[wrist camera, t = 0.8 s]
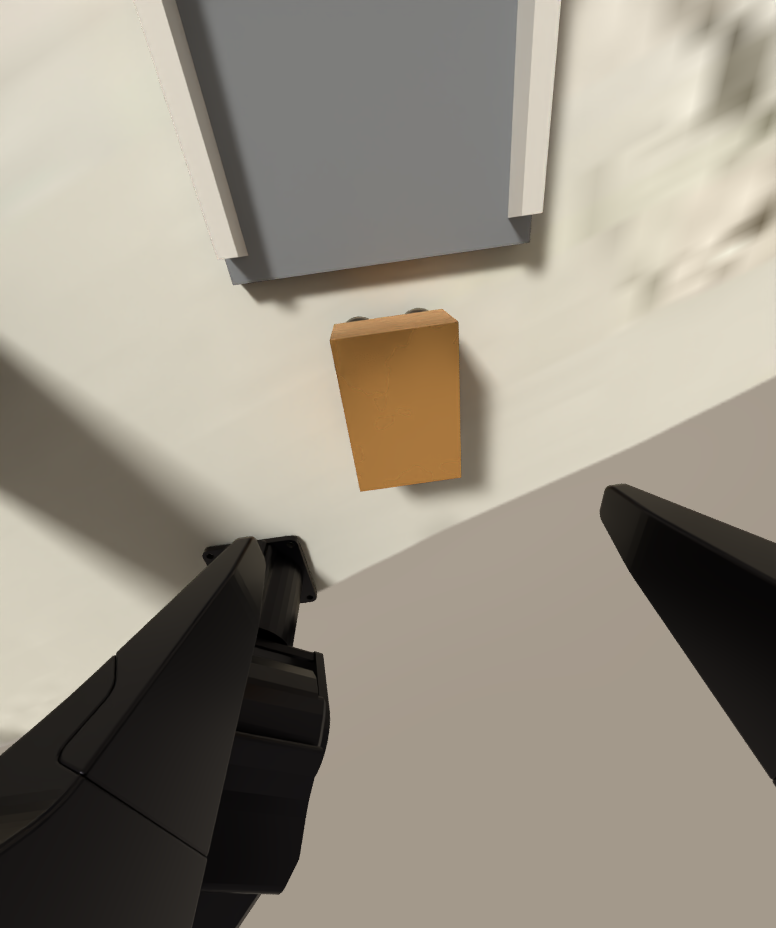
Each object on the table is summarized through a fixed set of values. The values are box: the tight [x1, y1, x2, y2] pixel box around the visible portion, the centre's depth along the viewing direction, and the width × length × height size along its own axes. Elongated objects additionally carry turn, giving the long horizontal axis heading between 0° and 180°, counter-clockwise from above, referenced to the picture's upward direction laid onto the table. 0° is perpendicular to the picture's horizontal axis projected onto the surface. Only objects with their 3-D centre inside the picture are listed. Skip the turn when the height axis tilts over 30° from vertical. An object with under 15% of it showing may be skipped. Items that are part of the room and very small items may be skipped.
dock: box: [133, 0, 561, 285], centre depth 12 cm, size 11×13×3 cm
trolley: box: [330, 308, 461, 492], centre depth 17 cm, size 7×5×5 cm
